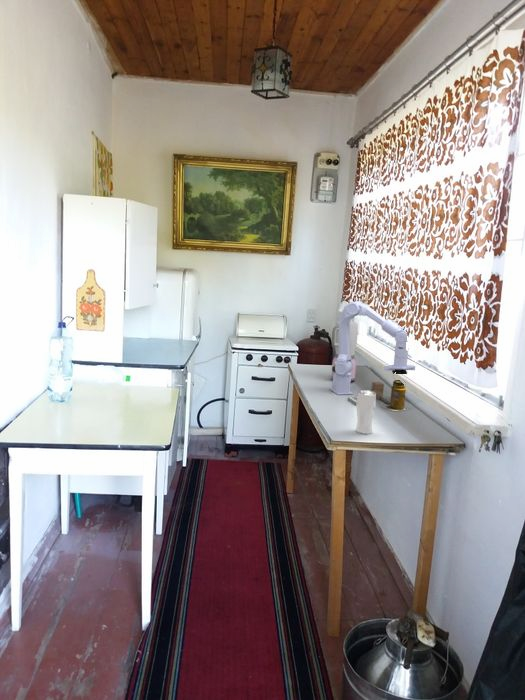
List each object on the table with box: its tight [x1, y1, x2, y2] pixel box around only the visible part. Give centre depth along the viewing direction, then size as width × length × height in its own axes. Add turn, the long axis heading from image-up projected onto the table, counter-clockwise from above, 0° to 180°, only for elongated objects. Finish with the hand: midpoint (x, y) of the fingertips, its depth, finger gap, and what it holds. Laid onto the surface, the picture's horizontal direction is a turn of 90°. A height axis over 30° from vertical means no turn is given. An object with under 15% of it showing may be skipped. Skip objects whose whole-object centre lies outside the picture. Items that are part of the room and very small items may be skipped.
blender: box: [330, 319, 359, 382], centre depth 271 cm, size 16×12×32 cm
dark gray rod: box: [378, 397, 390, 405], centre depth 238 cm, size 9×1×1 cm, turn 16°
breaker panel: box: [347, 395, 358, 407], centre depth 234 cm, size 10×8×2 cm
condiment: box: [382, 379, 407, 412], centre depth 228 cm, size 7×8×12 cm
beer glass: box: [355, 390, 377, 435], centre depth 195 cm, size 7×7×15 cm
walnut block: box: [370, 381, 385, 400], centre depth 244 cm, size 4×4×7 cm
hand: (398, 385), depth 238 cm, fingers closed
